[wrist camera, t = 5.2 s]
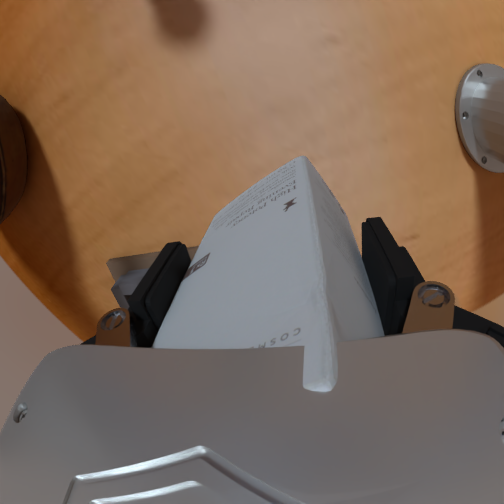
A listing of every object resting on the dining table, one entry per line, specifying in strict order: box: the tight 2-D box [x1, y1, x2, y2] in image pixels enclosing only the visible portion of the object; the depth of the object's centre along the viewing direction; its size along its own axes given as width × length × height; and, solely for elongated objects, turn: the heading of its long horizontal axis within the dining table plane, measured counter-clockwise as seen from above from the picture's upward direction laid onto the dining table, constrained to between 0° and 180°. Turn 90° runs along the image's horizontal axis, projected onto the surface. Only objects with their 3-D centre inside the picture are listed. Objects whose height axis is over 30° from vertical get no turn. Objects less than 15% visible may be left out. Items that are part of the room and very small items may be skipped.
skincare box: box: [151, 156, 385, 392], centre depth 10 cm, size 6×4×12 cm
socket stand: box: [106, 246, 199, 310], centre depth 35 cm, size 17×17×4 cm
